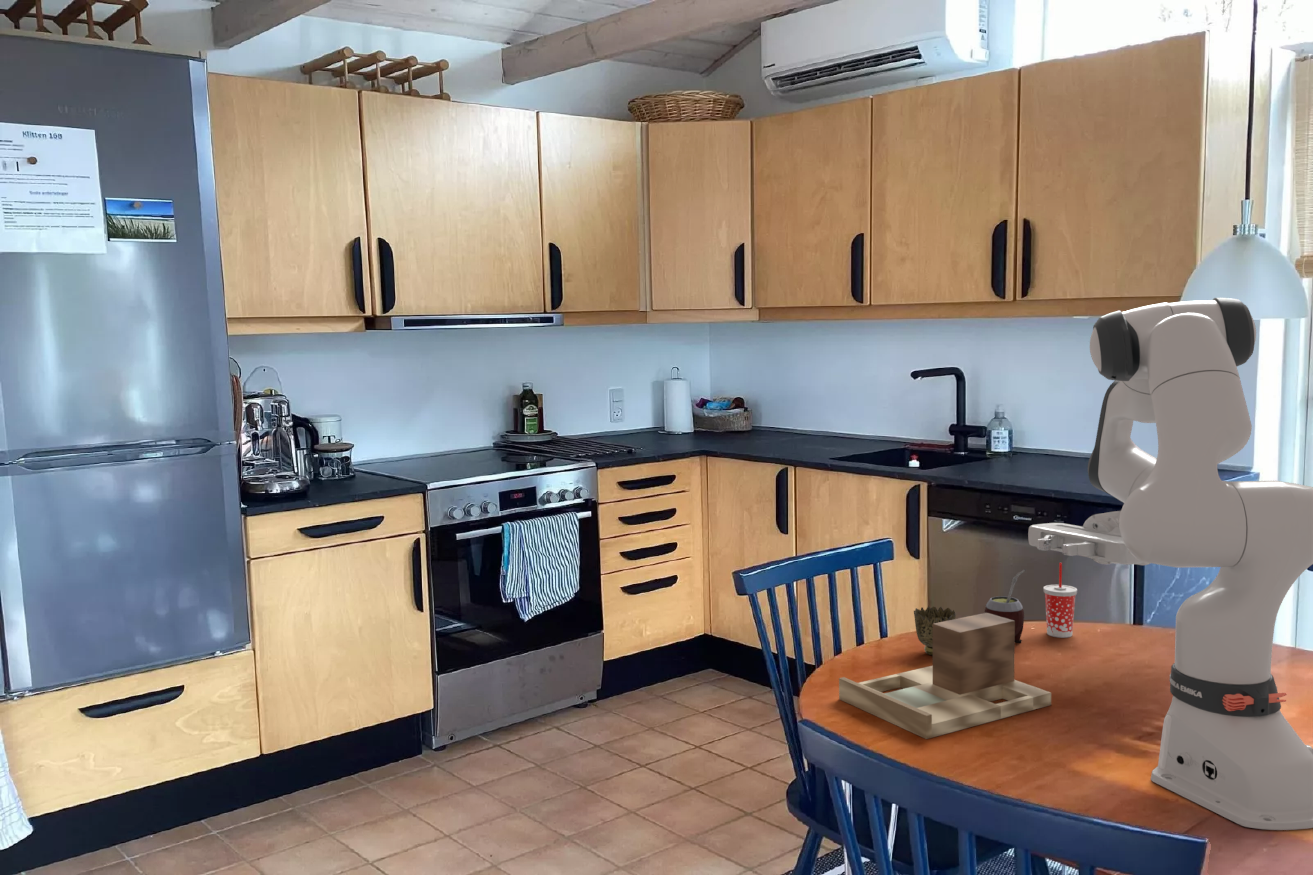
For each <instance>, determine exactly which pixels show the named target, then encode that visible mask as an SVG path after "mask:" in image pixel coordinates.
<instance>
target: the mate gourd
mask: <svg viewBox="0 0 1313 875" xmlns="http://www.w3.org/2000/svg"><path fill="white" fill-rule="evenodd" d="M1024 572H1026V569H1025V568H1024V569H1023V570H1021V571H1019V572H1017V573H1016V575H1015V574H1014V577H1013V578H1012V579H1011V584H1010V589H1009V592H1008V593H1007V594H1008V595H1007V596H1005V595H1003V596H1001V595H1000V596H993V597H990V598H989V600H988V601H987V603H986V604H985V609H984V613H990V614H993V615H997V616H1000V617H1004V618H1007V619H1010V620H1014V621H1015V644H1022V639H1021V636H1022V634H1023V629H1024V623H1025V622H1024V621H1025V611H1024V607H1023V604H1022V603H1021V601H1019V599H1018V598H1016V597H1013V596H1012V594H1013V592H1014V588H1015V585H1016V584H1017V581H1018V578H1019V577H1020V575H1021V574H1023V573H1024Z"/></svg>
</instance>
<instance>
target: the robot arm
mask: <svg viewBox="0 0 1313 875" xmlns="http://www.w3.org/2000/svg"><path fill="white" fill-rule="evenodd" d="M1255 323H1256V322H1255V320H1254V318H1253V316H1252V314H1251V312H1250V309H1249V307H1248V305H1246V304H1245V303H1244V302H1242V301H1241V300H1240V299H1238V298H1230V297H1214V298H1213V299H1211V300H1208V299H1206V300H1205V299H1204V300H1187V301H1186V300H1185V301H1184V300H1183V301H1175V302H1160V303H1155V304H1149V305H1144V306H1139V307H1136V308H1132V309H1129V310H1126V311H1121V310H1117V311H1113V312H1110V313H1106V314H1105V315H1102V316H1099V317H1098V319H1097V320H1096V322H1095V323H1094V325H1092V326H1093V328H1092V332H1091V335H1090V339H1089V352H1090V355H1091V356H1090V358H1091V359H1092V362H1093V364H1094V366H1095V367H1096V368H1097V371H1098V374H1099V375H1101V376H1102V377H1103V378H1105V379H1107V380H1110V381H1112V382H1111V383H1110V385H1109V386H1108V387H1107V389H1106V392H1105V394H1104V397H1103V400H1102V404H1101V407H1100V408H1101V409H1100V414H1099V419H1098V425H1097V426H1098V427H1097V430H1096V435H1095V436H1096V438H1095V443H1094V447H1093V450H1092V452H1091V454H1090V456H1089V459H1088V462H1087V463H1088V464H1087V474H1088V479H1089V481H1090V484H1091V486H1093V487H1094V488H1096V489H1098V490H1100V491H1102V492H1104V493H1105V494H1108V495H1109V496H1112V497H1113V498H1115V499H1117V500H1118V501H1120V502H1121V503H1123V505H1122V508H1121V509H1120V510H1117V511H1116V510H1115V511H1109V512H1104V513H1095V514H1092V515H1091V516H1089V517H1088V518H1087V519H1086V520H1085V521H1084V523H1083V525H1075V524H1070V523H1063V522H1049V523H1048V522H1047V523H1037V524H1032V525H1030V526H1029V527H1028V533H1027V535H1028V537H1027V538H1028V544H1029V546H1032V547H1036V548H1037V550H1039V551H1045V552H1046V551H1054V552H1060V553H1062V555H1064V556H1069V557H1075V556H1079V557H1085V558H1089V559H1091V560H1092V561H1094V562H1095V563H1097V564H1100V565H1111V564H1115V565H1118V564H1119V565H1124V566H1125V565H1127V566H1128V565H1137V566H1147V565H1150V564H1154V565H1159V566H1163V567H1164V566H1165V567H1170V568H1178V569H1179V568H1219V571H1218V573H1217V575H1216V577H1215V578H1214V580H1212V582H1211V583H1210V584H1209V585H1208V586H1207V587H1205V588H1204V589H1202V590H1200V591H1197V592H1196V593H1195V594H1192V595H1191V596H1189V597H1187V598H1186V599H1185V600H1184V601H1183V602H1182V604H1181V605H1180V606H1179V608H1178V609H1177V612H1176V614H1175V615H1176V616H1175V636H1174V639H1175V640H1174V641H1175V643H1174V646H1175V647H1174V662H1173V663H1172V665H1171V666H1170V674H1169V684H1170V685H1169V687H1170V688H1169V692H1170V694H1171V695H1172V699H1171V703H1170V706H1169V708H1168V711H1167V712H1166V714H1165V716H1164V719H1163V725H1162V731H1161V732H1162V733H1161V740H1160V747H1159V755H1158V762H1157V766H1156V767H1155V768H1154V769H1152V771H1151V775H1150V781H1152V782H1153V783H1155V784H1157V785H1158V786H1161V787H1163V788H1164V789H1167V790H1168V791H1171V792H1174V794H1176V795H1179V796H1180V797H1183V798H1185V799H1187V800H1189V801H1191V802H1193V803H1195V804H1197V805H1200V806H1201V807H1203V808H1205V809H1207V810H1210V811H1211V812H1214V813H1216V814H1218V815H1219V816H1221V817H1224V818H1225V819H1227V820H1230V821H1231V822H1234V823H1235V824H1237V825H1240V826H1242V827H1245V828H1252V829H1259V830H1270V831H1283V830H1284V831H1285V830H1286V831H1289V830H1291V831H1293V830H1304V829H1305V830H1306V829H1312V828H1313V747H1312V746H1310V744H1305V742H1304V741H1303V740H1302V738H1301V737H1300V736H1299V735H1298V734H1297V731H1295V730H1294V728H1293V726H1292V725H1291V723H1290V722H1288V720H1287V719H1286V718H1285V716H1284V715H1283V713H1282V711H1281V708H1282V705H1281V703H1284V702H1287V700H1286V699H1280V698H1282V697H1285V696H1287V693H1286V692H1278V686H1277V685H1276V681H1275V677H1274V675H1272V656H1273V655H1272V653H1273V642H1274V633H1275V624H1276V620H1277V616H1278V613H1279V610H1280V607H1281V606H1282V603H1283V601H1284V600H1285V599H1284V598H1285V597H1286V595H1287V594H1288V592H1289V590H1290V589H1291V587H1292V586H1293V584H1295V582H1296V580H1297V579H1298V578H1299V577H1300V576H1301V575H1302V574H1303V573H1304V572H1305V571H1306V570H1307V569H1308V568H1309V567H1311V566H1312V565H1313V486H1309V485H1305V484H1299V483H1294V482H1287V481H1280V480H1254V481H1253V480H1246V481H1243V480H1240V481H1239V480H1237V481H1227V480H1222V478H1220V475H1219V471H1218V464H1220V463H1221V464H1222V462H1224V461H1226V460H1229V459H1230V458H1232V457H1234V456H1236V454H1238V453H1239V452H1241V451H1242V450H1243V449H1244V447H1245V446H1246V445H1247V444H1248V442H1249V440H1250V438H1251V435H1252V428H1253V426H1252V421H1251V417H1250V413H1249V409H1248V405H1247V401H1246V399H1245V398H1246V396H1245V393H1244V391H1243V386H1242V382H1241V378H1240V374H1239V370H1238V368H1237V367H1239V366H1241V365H1242V366H1243V365H1244V364H1245V363H1247V362H1248V360H1249V359H1250V358H1251V357H1252V355H1253V354H1254V348H1255V344H1256V341H1257V329H1256V328H1257V326H1256V324H1255ZM1134 422H1137V423H1138V422H1139V423H1144V424H1155V426H1156V432H1157V433H1156V434H1157V445H1158V446H1157V447H1158V448H1157V456H1156V457H1155V456H1153V455H1151V454H1150V453H1148V452H1147V451H1145V450H1143V449H1142V448H1140V447H1139V446H1138V445H1136V443H1134V441H1133V440H1132V438H1131V437H1132V436H1131V435H1132V429H1133V425H1134Z"/></svg>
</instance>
